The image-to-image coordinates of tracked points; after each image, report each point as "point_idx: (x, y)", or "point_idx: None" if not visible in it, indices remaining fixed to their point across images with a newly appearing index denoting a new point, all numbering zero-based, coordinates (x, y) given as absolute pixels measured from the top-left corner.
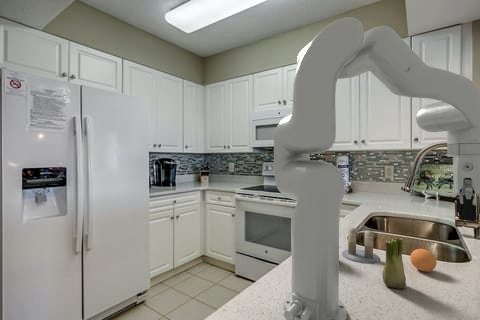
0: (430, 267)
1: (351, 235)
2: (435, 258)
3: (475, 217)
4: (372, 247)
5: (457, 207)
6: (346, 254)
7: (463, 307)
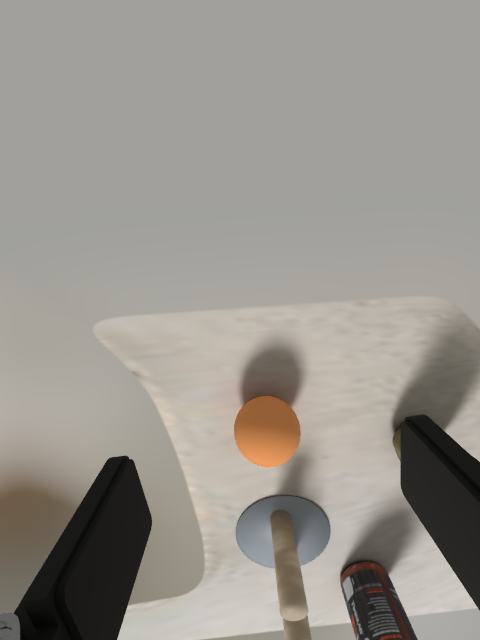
0: (287, 404)
1: (307, 618)
2: (263, 411)
3: (442, 434)
4: (287, 542)
5: (140, 562)
6: (303, 555)
7: (424, 315)
